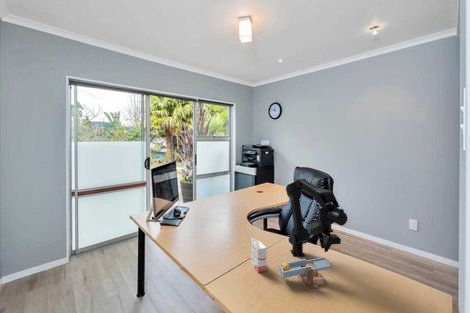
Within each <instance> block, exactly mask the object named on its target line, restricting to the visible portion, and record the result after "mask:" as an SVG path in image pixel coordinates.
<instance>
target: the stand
mask: <svg viewBox="0 0 470 313" xmlns="http://www.w3.org/2000/svg"><path fill="white" fill-rule="evenodd" d="M302 259H303V258H300V259H299V260H302ZM306 266H307V265H304V266H300V267H301V268H302V267H306ZM302 287H303V289H304V290H309V289H310V290H315V289H319V285H317V284H313V268H311V269H307V284H303V285H302Z"/></svg>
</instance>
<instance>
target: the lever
mask: <svg viewBox="0 0 470 313" xmlns="http://www.w3.org/2000/svg"><path fill="white" fill-rule="evenodd" d="M301 259H302V260H300V259H298V260H293V261H288V262H286V263H288V264H289V265H290V270H287V271H284V270H283V268H282V265H283V264H284V263H285V262H282V263H279V264H278V267H279V271H280V273H281V275H282V278H283V279H286V278H292V277H296V276H297V275H301V274H306V273H307V269H313V272H316V271H319V272H321V271H323V270H329V269H332V268H333V267H332V264H330V263H329V262H328V261H327V260H326V257H325V256H323V257H318V258H313V259H307V258H301ZM308 264H312V265H314V267H312V266H311V265H308ZM304 265H306V267H302V268H301V267H300V266H304ZM307 265H308V266H307ZM297 277H298V276H297Z"/></svg>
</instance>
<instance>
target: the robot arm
mask: <svg viewBox="0 0 470 313" xmlns="http://www.w3.org/2000/svg"><path fill="white" fill-rule="evenodd" d="M303 191H305V192H307V193H308V194H310V195H311V196H313V198H314V200H315V202H317V203H315V207H317V208H318V217H316V219H315V221H314V222H311V223H308V224H306V225H305V226H304V223H303V214H302V207H301V198H302V193H303ZM285 192H286V195H287V197H288V198H289V200H290V205H291V213H292V221H293V227H292V230H291V236H289V237H288V242H289V244H291V245H292V249H290V250H289V251H290V253H291V254H292V257H305V256H306V254H305V252H303V251H304V250H303V249H304V244H307V242H308V240H309V238H310V237H309V235H310V236H314V235H317V237H318V240H319V244H320V247H321V249H324V250H323V251H324V252H325V253H328V251H329V249H330V248H331V247H332V245H340V244H342V239H341V238H340V236H338V235H337V234H336V233H334V229H333V228H332V225H334V224H336V225H338V226H341V227H342V226H345V225H346V223H347V222H348V219H349V218H348V215H347V213H346V212H345V209H344V208H340V205H339V201H338V200H337V198H336V196H335V193H334V192H333V191H332V190H330V189H324V188H320V187H318V186H317V185H315V184H313V183H311V182H310V181H308V180H307V179H305V178H299V179H297V180H295V181H293V182H290V183H288V184H287V185H286V186H285Z"/></svg>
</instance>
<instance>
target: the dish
mask: <svg viewBox="0 0 470 313" xmlns="http://www.w3.org/2000/svg"><path fill="white" fill-rule="evenodd" d="M297 278H298V279H299V282H300V283H301V285H302V286H303V284H307V273H306V274H301V275H297ZM325 280H326V278H325V277H324V276H323V274H322V273H321V271H316V272H313V284H317V285H318V286H325V285H326V284H325V283H326V282H325Z"/></svg>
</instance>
